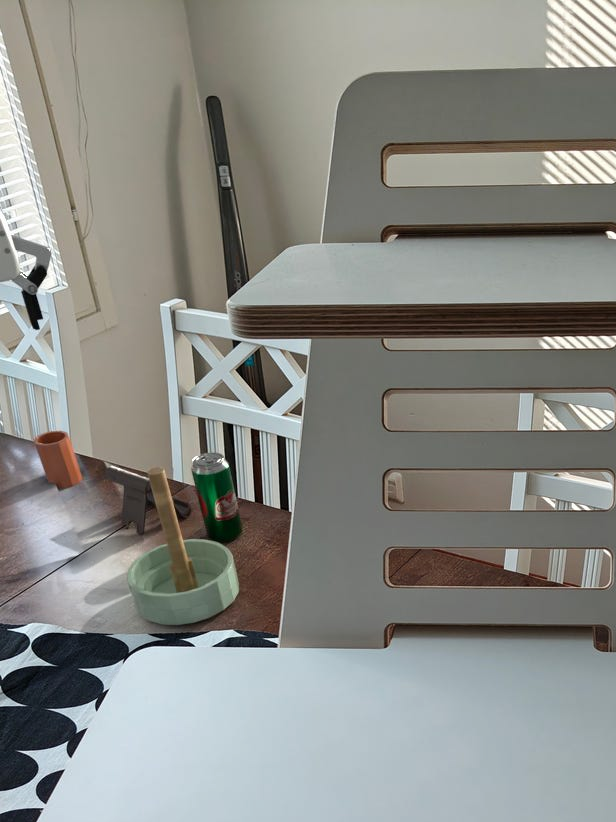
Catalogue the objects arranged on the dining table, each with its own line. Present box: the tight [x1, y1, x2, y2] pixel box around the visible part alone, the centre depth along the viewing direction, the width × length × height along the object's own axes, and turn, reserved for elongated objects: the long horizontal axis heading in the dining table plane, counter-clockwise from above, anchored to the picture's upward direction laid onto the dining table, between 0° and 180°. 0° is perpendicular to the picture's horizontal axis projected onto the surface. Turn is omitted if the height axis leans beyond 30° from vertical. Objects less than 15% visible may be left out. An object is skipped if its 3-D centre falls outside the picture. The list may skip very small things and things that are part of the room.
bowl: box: [126, 538, 240, 626], centre depth 127 cm, size 13×13×5 cm
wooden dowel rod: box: [146, 466, 199, 593], centre depth 122 cm, size 3×2×18 cm
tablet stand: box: [104, 465, 192, 535], centre depth 142 cm, size 9×8×8 cm
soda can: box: [190, 452, 244, 543], centre depth 137 cm, size 5×5×12 cm
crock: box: [33, 430, 83, 490], centre depth 152 cm, size 5×5×8 cm
